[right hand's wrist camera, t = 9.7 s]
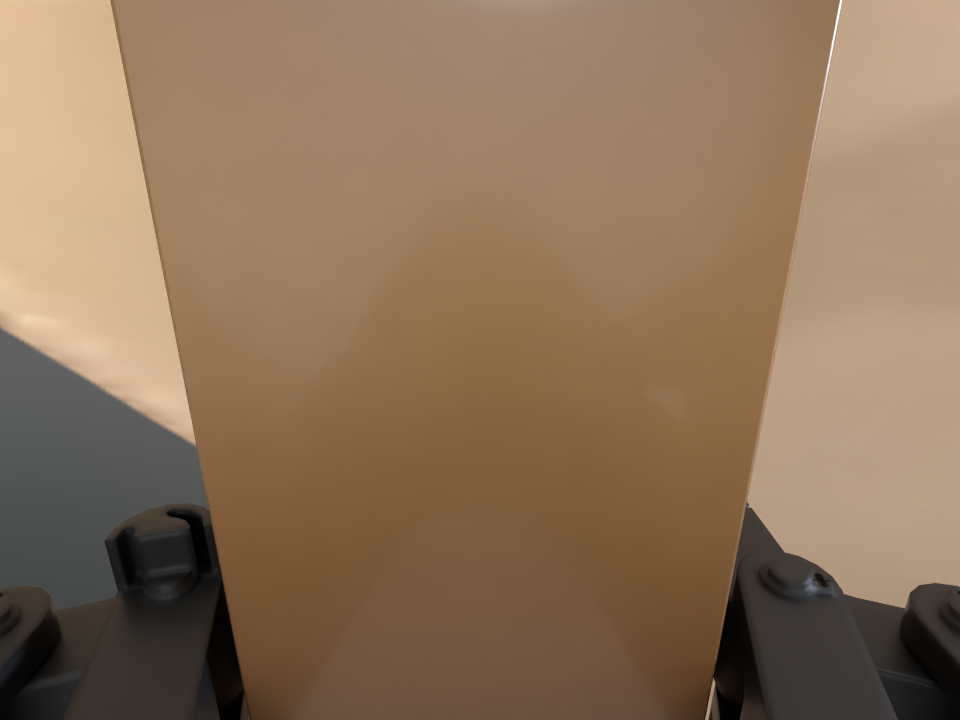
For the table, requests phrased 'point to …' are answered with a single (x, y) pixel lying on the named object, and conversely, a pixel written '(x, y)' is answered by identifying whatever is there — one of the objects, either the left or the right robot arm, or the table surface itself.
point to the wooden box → (476, 332)
